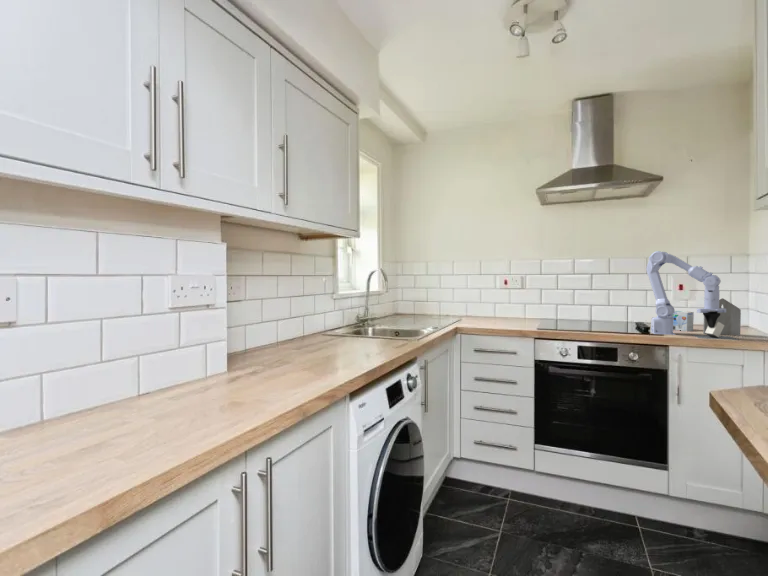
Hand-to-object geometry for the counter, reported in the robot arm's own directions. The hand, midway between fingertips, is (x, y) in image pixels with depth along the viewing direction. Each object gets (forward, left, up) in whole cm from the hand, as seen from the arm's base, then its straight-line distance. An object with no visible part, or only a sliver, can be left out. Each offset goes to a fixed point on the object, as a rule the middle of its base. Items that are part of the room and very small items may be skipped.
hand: (711, 327), depth 194 cm
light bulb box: (-4, +32, -6) cm, 33 cm away
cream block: (0, 0, -4) cm, 4 cm away
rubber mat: (+2, +2, -6) cm, 6 cm away
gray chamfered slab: (+9, +19, -6) cm, 22 cm away
